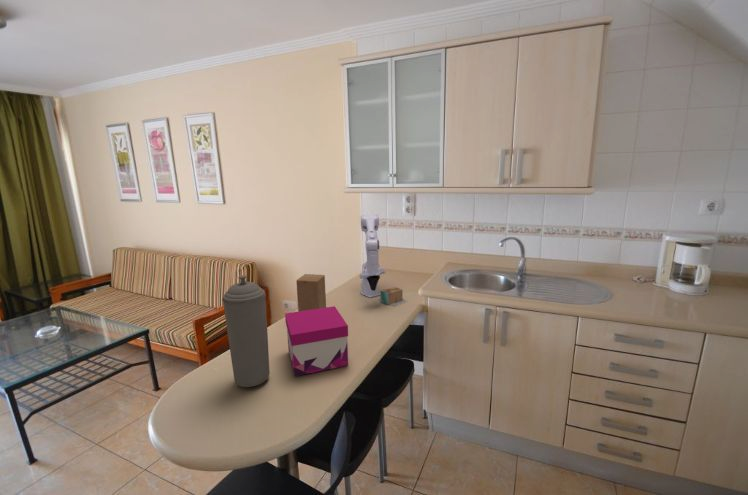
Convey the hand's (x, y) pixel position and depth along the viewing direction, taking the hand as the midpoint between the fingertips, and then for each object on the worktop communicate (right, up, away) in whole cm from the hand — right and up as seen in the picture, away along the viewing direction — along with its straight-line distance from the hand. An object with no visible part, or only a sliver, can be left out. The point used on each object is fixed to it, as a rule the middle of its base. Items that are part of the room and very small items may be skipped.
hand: (373, 289), depth 168 cm
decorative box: (-20, -19, -44) cm, 53 cm away
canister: (-40, -22, -57) cm, 73 cm away
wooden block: (-28, -12, -10) cm, 32 cm away
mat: (+11, -7, +10) cm, 16 cm away
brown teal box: (+6, -5, +5) cm, 9 cm away
